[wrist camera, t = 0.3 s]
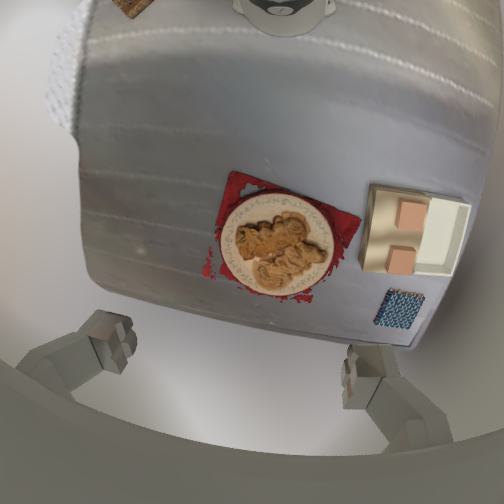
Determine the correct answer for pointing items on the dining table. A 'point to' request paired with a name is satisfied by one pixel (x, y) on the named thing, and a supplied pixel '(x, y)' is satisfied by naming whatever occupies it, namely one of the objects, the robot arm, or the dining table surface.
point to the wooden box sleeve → (387, 226)
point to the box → (442, 235)
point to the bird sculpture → (132, 6)
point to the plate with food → (278, 239)
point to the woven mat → (399, 309)
